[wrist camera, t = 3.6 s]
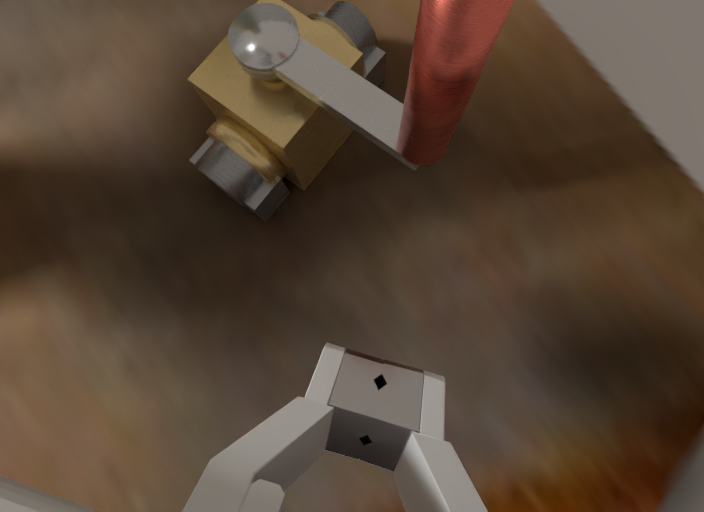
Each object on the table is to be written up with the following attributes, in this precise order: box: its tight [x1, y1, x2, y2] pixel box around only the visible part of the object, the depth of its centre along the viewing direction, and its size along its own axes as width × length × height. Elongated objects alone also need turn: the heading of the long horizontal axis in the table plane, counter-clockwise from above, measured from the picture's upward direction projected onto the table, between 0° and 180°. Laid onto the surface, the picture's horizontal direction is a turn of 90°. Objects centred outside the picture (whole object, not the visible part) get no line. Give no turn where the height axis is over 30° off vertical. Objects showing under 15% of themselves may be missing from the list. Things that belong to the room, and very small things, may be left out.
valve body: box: [188, 0, 386, 222], centre depth 27 cm, size 16×8×9 cm, turn 142°
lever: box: [228, 0, 514, 171], centre depth 16 cm, size 14×4×11 cm, turn 52°
